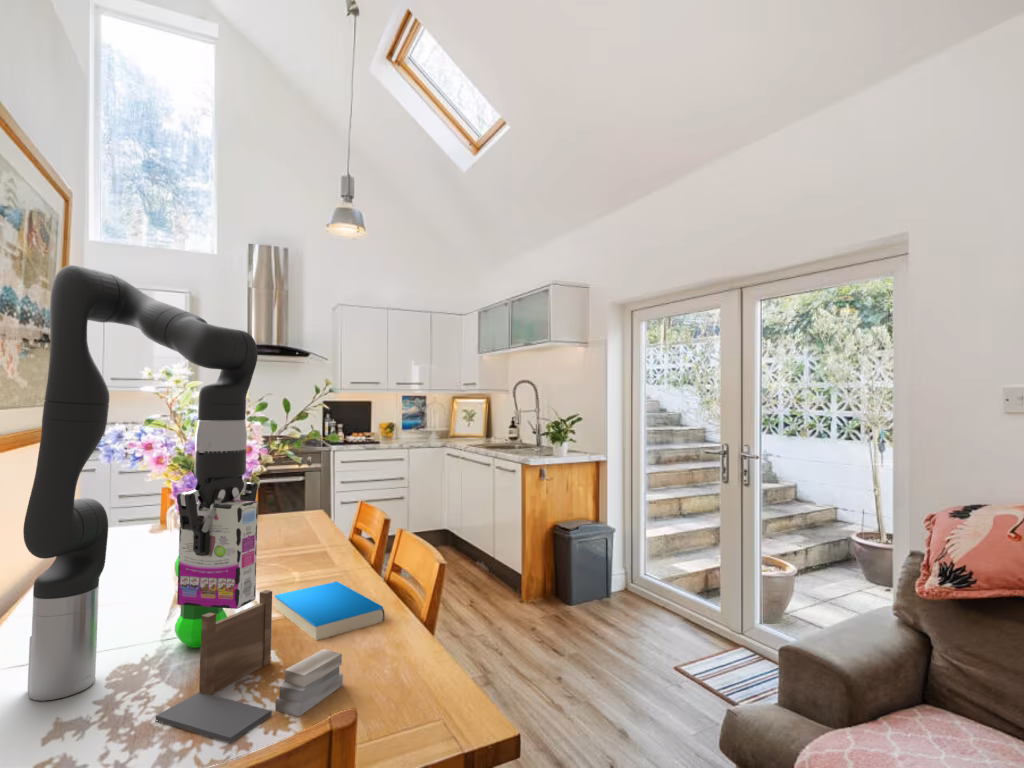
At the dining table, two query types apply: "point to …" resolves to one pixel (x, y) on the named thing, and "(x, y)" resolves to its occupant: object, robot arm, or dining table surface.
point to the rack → (235, 645)
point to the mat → (214, 716)
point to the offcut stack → (309, 682)
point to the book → (328, 609)
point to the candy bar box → (221, 559)
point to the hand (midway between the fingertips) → (218, 550)
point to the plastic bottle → (193, 621)
